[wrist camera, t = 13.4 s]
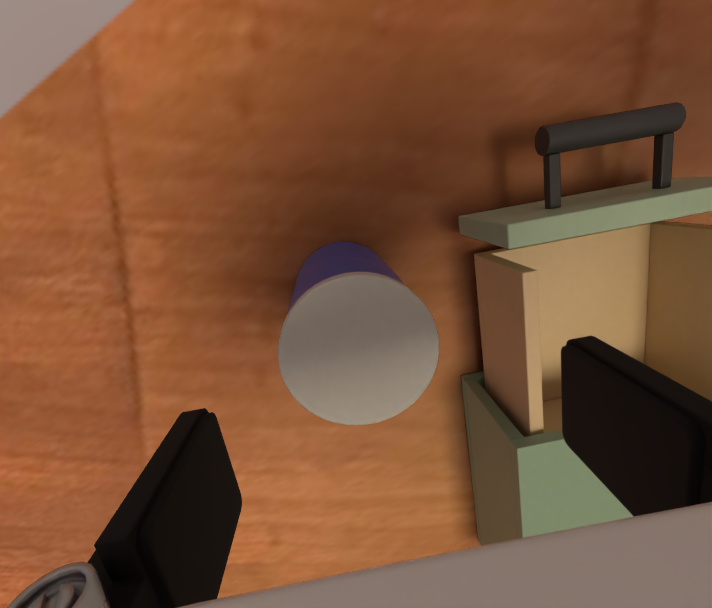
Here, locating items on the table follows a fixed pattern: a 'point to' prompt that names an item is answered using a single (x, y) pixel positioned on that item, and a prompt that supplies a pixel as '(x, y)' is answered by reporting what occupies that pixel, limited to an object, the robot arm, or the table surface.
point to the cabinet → (527, 476)
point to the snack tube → (355, 338)
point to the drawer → (595, 271)
